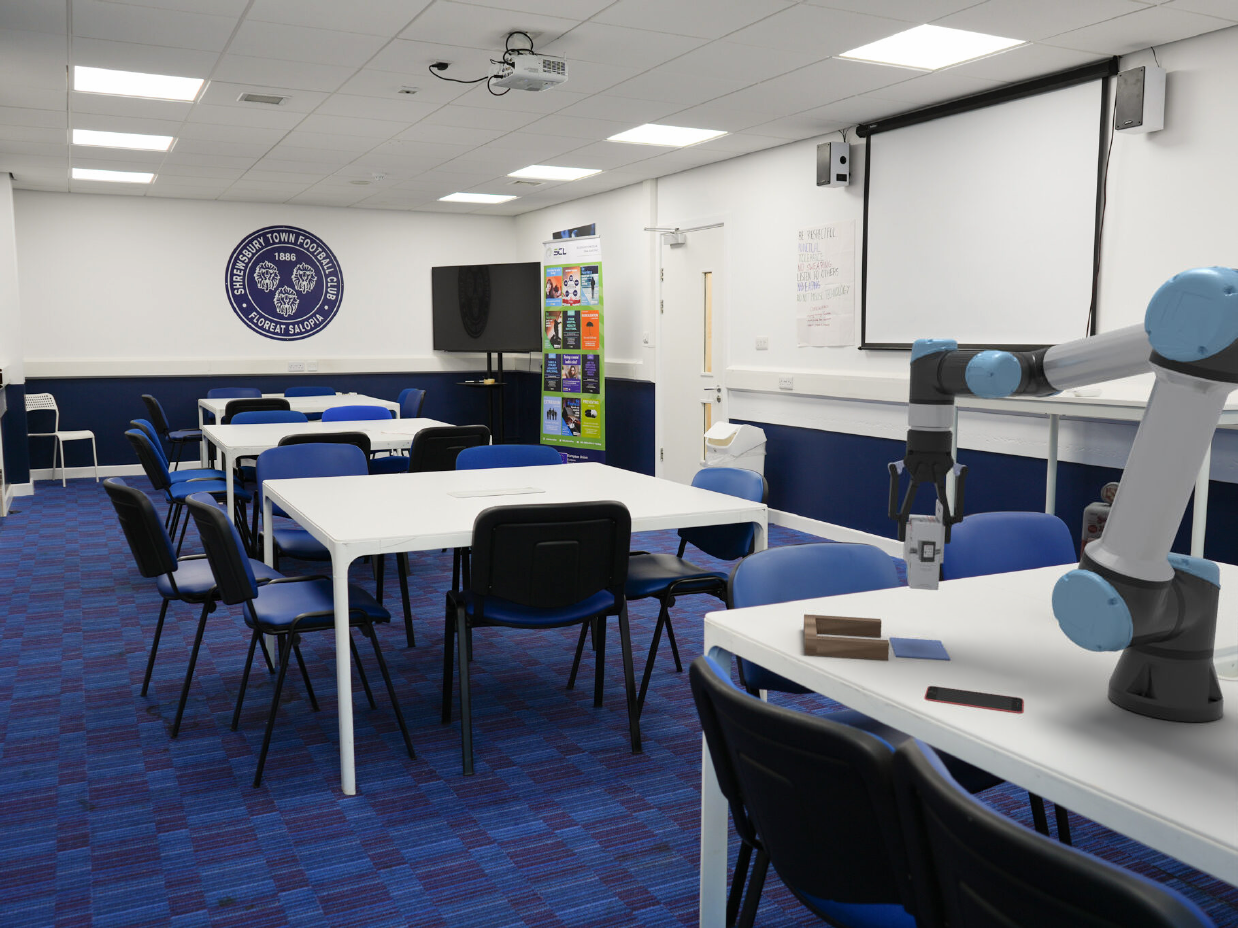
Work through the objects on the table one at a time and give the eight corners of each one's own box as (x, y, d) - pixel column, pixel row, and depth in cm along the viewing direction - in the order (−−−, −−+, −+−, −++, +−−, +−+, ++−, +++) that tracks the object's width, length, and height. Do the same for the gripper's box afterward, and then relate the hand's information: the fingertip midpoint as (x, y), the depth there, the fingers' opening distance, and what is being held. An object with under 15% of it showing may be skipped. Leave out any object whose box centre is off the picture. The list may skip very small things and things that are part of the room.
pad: (950, 660, 167) (950, 658, 167) (895, 656, 169) (895, 654, 169) (940, 641, 178) (940, 640, 178) (889, 638, 179) (889, 637, 179)
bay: (888, 660, 167) (889, 643, 166) (804, 654, 169) (805, 638, 169) (879, 634, 182) (880, 618, 182) (803, 629, 185) (804, 614, 184)
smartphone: (927, 684, 154) (1024, 697, 149) (927, 688, 154) (1023, 701, 149) (923, 698, 148) (1023, 712, 142) (923, 702, 148) (1023, 716, 142)
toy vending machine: (1073, 627, 189) (1083, 484, 186) (1083, 615, 199) (1092, 478, 195) (1124, 635, 184) (1136, 488, 181) (1132, 622, 194) (1143, 482, 190)
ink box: (904, 578, 177) (909, 497, 175) (933, 579, 176) (937, 498, 174) (909, 588, 168) (913, 504, 167) (939, 590, 168) (943, 505, 166)
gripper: (980, 428, 171) (972, 559, 174) (874, 425, 174) (868, 553, 177) (988, 431, 164) (980, 568, 166) (878, 428, 167) (871, 562, 169)
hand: (922, 560), depth 172 cm, fingers closed on ink box, 5 cm apart
